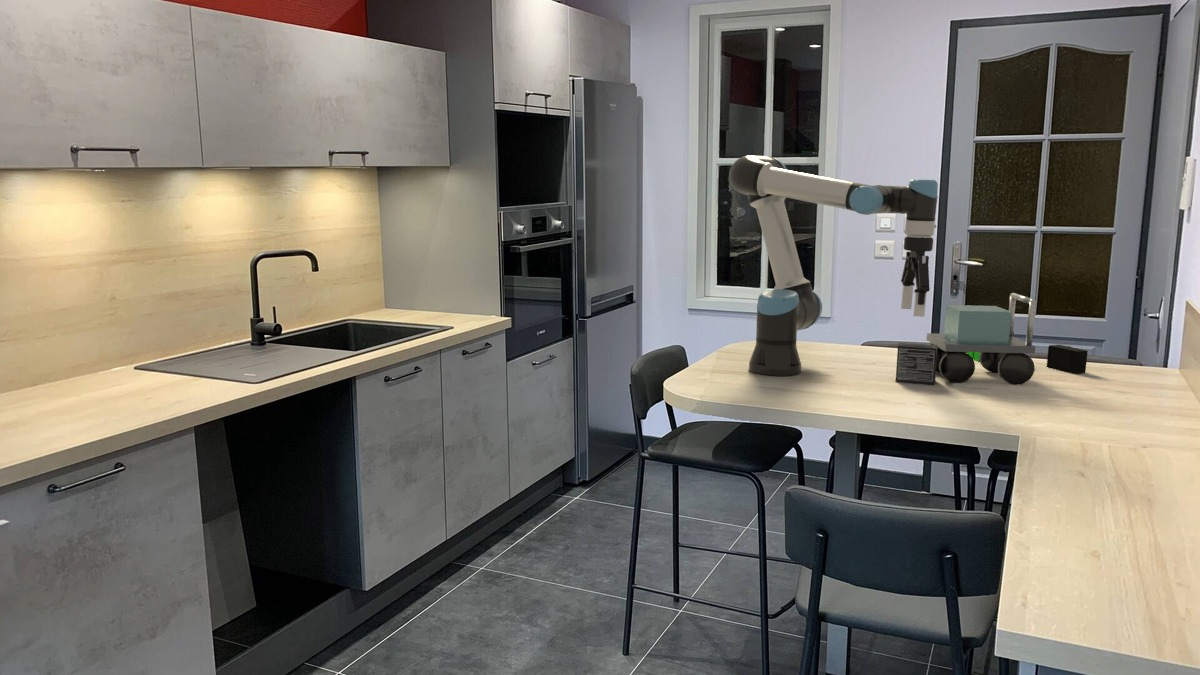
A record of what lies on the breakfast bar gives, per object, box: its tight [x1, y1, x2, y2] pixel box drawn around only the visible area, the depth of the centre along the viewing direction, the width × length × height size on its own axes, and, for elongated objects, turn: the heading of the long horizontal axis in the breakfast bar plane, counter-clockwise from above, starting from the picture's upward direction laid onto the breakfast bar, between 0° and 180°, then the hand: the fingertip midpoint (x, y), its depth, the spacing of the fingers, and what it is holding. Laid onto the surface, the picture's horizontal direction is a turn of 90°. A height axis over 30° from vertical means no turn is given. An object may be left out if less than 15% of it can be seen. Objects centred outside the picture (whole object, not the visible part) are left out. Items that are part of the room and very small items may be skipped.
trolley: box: [926, 292, 1037, 386], centre depth 252 cm, size 25×18×24 cm
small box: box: [895, 342, 938, 386], centre depth 247 cm, size 11×6×10 cm, turn 68°
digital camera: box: [1046, 344, 1089, 375], centre depth 264 cm, size 10×5×7 cm, turn 20°
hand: (912, 312), depth 247 cm, fingers open, 13 cm apart
